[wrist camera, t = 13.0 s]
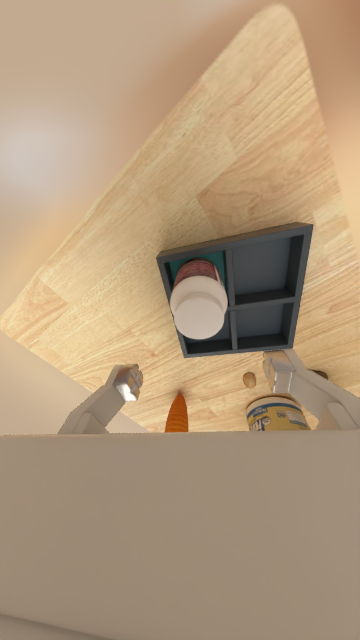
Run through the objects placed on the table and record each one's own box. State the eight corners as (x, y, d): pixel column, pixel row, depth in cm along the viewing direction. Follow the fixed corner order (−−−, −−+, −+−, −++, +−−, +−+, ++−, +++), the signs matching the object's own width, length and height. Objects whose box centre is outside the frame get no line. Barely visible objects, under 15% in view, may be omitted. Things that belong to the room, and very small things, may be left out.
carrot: (186, 401, 44) (182, 480, 31) (167, 396, 43) (155, 474, 31) (193, 390, 41) (191, 471, 28) (173, 385, 41) (162, 465, 28)
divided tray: (161, 251, 24) (155, 257, 21) (297, 221, 21) (313, 224, 18) (185, 344, 33) (184, 358, 30) (283, 334, 30) (292, 348, 27)
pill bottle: (168, 280, 26) (152, 321, 17) (196, 246, 23) (195, 273, 14) (199, 305, 28) (199, 354, 18) (228, 276, 25) (247, 318, 15)
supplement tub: (250, 392, 39) (280, 495, 25) (307, 396, 39) (369, 505, 24) (240, 420, 46) (259, 513, 32) (288, 424, 45) (329, 522, 31)
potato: (255, 371, 36) (257, 378, 34) (256, 383, 38) (258, 391, 36) (241, 373, 36) (243, 380, 35) (243, 385, 38) (245, 392, 37)
